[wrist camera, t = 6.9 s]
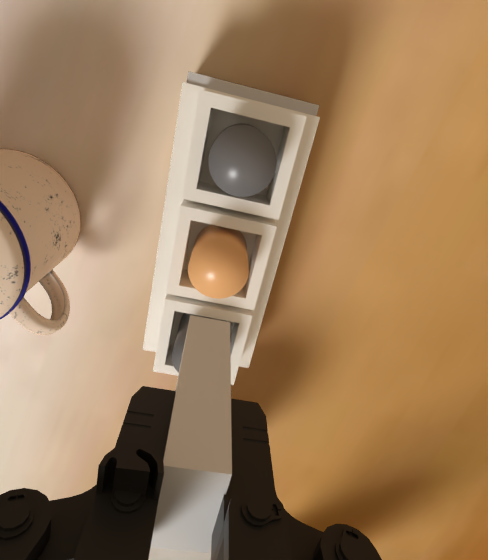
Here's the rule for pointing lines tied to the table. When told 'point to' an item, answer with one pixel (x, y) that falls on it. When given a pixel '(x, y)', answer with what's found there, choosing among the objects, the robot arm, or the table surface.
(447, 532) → the table surface
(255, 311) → the traffic light
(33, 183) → the teacup with lid
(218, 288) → the brown egg
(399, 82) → the table surface
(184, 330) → the dark grey egg
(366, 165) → the table surface
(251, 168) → the grey egg
